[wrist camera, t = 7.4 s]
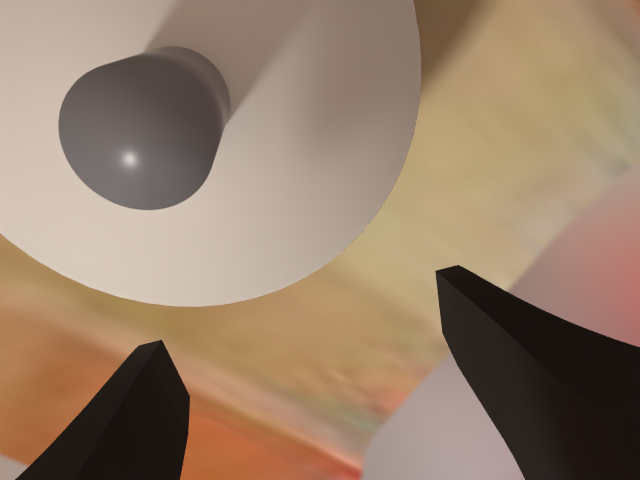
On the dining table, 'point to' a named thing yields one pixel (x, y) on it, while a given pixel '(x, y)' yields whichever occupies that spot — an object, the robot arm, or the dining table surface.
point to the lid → (200, 138)
